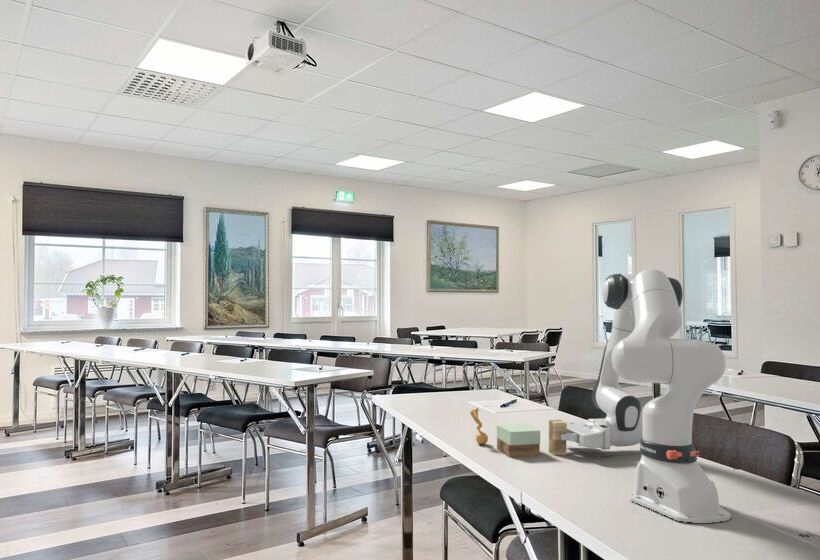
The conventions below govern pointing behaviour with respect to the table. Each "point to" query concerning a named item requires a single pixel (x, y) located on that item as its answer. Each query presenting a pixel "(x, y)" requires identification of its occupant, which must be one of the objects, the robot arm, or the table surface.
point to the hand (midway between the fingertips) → (555, 434)
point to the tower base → (518, 449)
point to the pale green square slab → (518, 434)
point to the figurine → (481, 436)
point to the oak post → (557, 437)
